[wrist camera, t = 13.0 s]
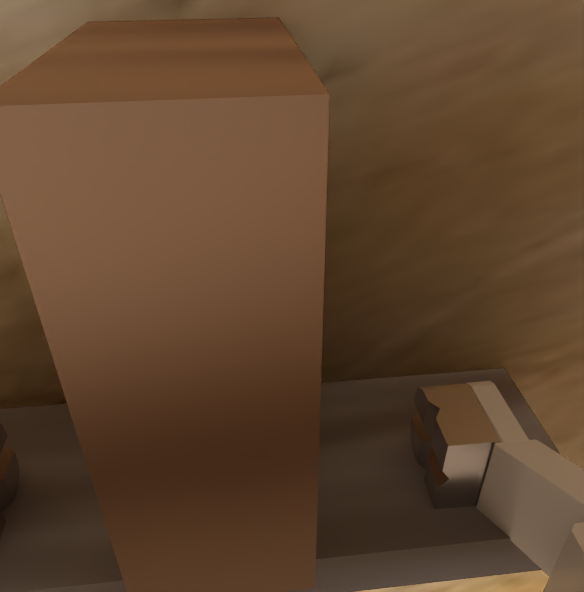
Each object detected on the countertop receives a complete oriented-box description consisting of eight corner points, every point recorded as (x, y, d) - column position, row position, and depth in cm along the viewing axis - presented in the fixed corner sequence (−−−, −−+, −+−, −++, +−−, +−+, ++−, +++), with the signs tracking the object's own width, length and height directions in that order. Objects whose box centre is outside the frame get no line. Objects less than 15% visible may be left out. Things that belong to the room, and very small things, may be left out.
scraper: (-291, 30, 8) (-803, 134, 4) (599, 9, 10) (893, 74, 5) (-66, 450, 13) (-194, 685, 9) (494, 401, 15) (603, 589, 10)
